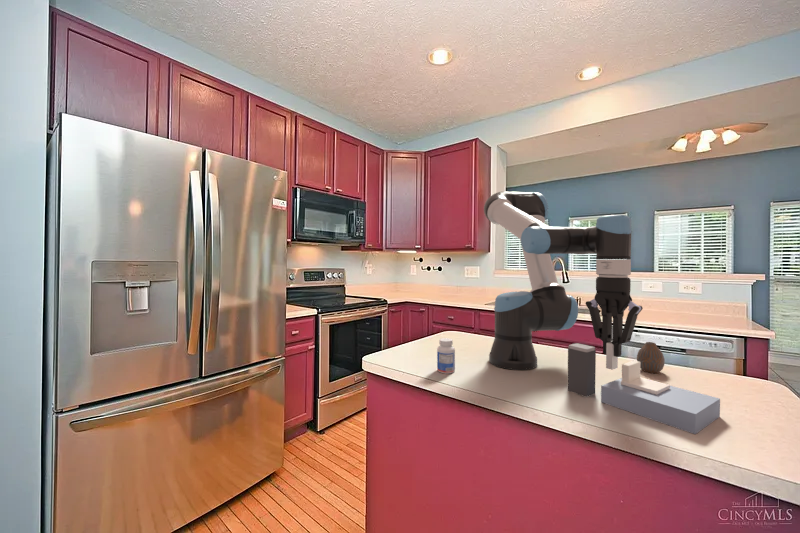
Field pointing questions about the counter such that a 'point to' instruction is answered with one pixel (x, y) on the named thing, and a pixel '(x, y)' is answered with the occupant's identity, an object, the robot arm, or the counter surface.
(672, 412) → the socket board
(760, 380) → the counter surface
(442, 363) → the pill bottle
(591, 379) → the plug
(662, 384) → the shutter
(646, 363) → the vase
